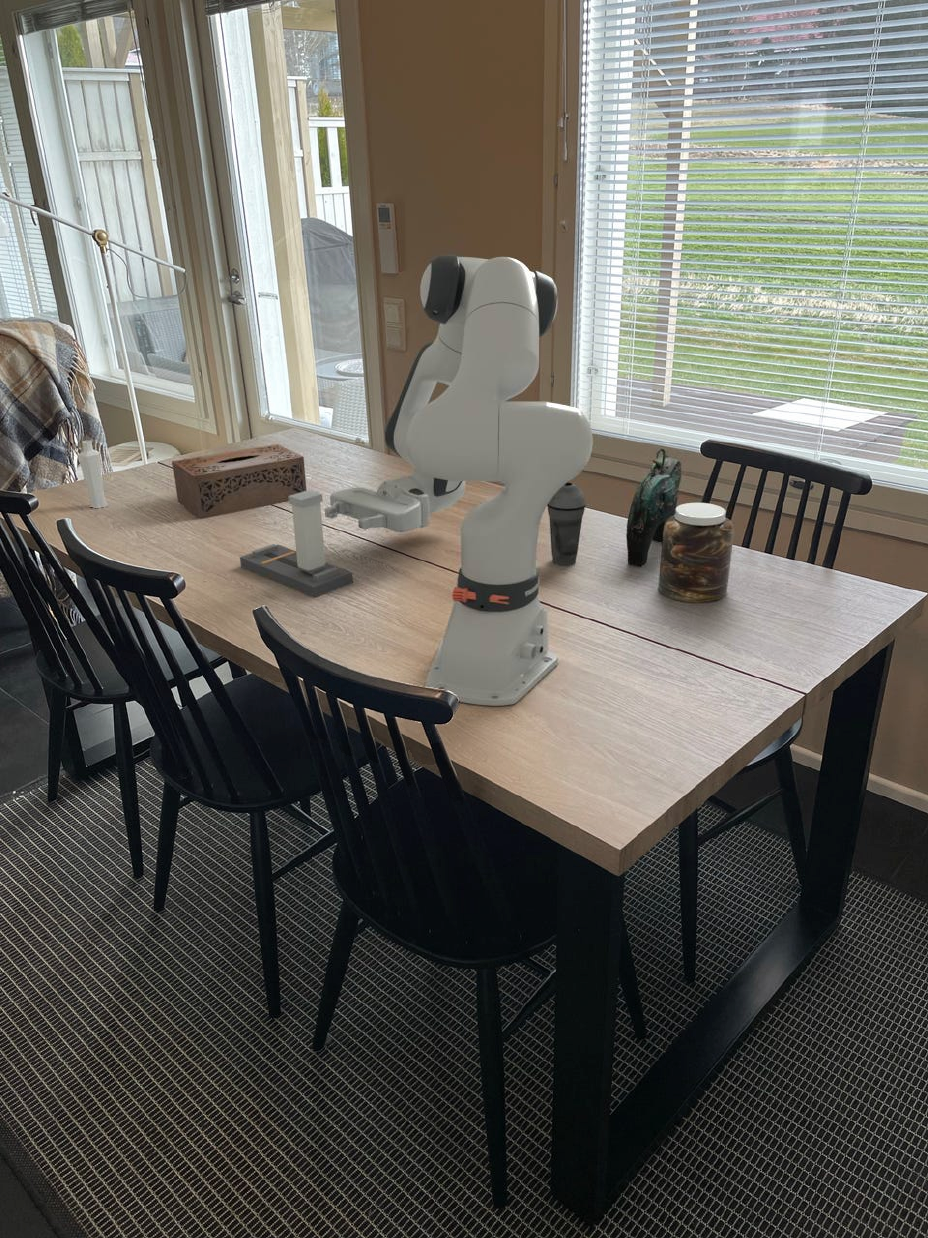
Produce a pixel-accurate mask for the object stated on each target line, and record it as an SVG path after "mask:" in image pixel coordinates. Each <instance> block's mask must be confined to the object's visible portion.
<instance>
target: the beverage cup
mask: <svg viewBox="0 0 928 1238" xmlns="http://www.w3.org/2000/svg"><path fill="white" fill-rule="evenodd" d="M585 500H586V499H585V495H584V492H583V490H582V489H581V488H580V487H579V486H578V485H577V484H576V483H572V482H569V481H568V482H567V483H566V484H564V485H563V486H562V487H561V488H560V489H559V490H558V491H557V492H556V493H555V495H554V496H553V497H552V499H551V500H550V501H549V503H548V505H547V506H546V507H547V513H548V516H549V528H550V529H549V533H550V534H549V535H550V549H551V558H552V560H551V562H552V563H553V564H554V565H556V566H560V567H569V566H573V565H575V564H576V563H577V557H578V552H579V551H578V550H579V544H580V536H581V528H582V522H583V516H584V513H585V508H586V501H585Z"/></svg>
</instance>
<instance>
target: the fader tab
mask: <svg viewBox="0 0 928 1238" xmlns="http://www.w3.org/2000/svg"><path fill="white" fill-rule="evenodd" d="M306 490H307V491H304V492H301V493H297V494H294V495H291V496H289V501H288V504H290V505H291V510H292V520H293V521H292V522H293V531H294V542H295V551H296V554H297V565H298V569H299V570H302V571H304V572H307V573H309V574H312V575H313V574H316V573H318V572H321V571H324V570H325V566H324V565H325V562H326V556H325V555H326V554H325V547H324V546H325V545H324V533H323V531H324V529H323V520H322V505H321V503H322V502H323V493H320V492H316V491H313V490H310V489H306Z"/></svg>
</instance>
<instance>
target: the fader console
mask: <svg viewBox="0 0 928 1238" xmlns="http://www.w3.org/2000/svg"><path fill="white" fill-rule="evenodd" d="M239 561H240V568H243V569H245V570H248V571H250V572H252V573H255V574H256V575H259V576H262V577H264V578H267V579H268V580H271V581H274V582H276V583H279V584H281V585H284V586H285V587H288V588H290V589H293V590H295V591H298V592H300V593H303V594H305V595H308V596H309V597H312V598H317V597H320V596H322V595H325V594H327V593H330V592H333V591H335V590H338V589H341V588H342V587H345V586H348V585H350V584H353V583H354V580H353V579H354V577H353V575H354V574H353V572H352V571H350V570H347V569H344V568H342V567H338V566H337V565H334V564H331V563H329V562H326V561H325V565H324V566H325V570H324V571H321V572H318V573H316V574H313V575H312V574H309V573H307V572H304V571H302V570H299V569H298V565H297V554H296V550H295V549H291V548H288V547H286V546H283V545H281V544H274V543H273V544H270V545H267V546H264V547H261V548H258V549H255V550H253V551H252V552H251V553H249V554H246V555H242V556H240V557H239Z"/></svg>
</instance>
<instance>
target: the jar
mask: <svg viewBox="0 0 928 1238" xmlns="http://www.w3.org/2000/svg"><path fill="white" fill-rule="evenodd" d="M726 514H727V511H726V509H725V508H724V507H722V506H720V505H717V504H712V503H708V502H707V503H706V502H687V503H682V504H679V505H677V507H676V510H675V515H672V516H670V517H669V518H667V520H666V521H665V525H664V532H663V541H662V543H661V552H660V553H661V555H660V562H659V563H660V564H659V578H658V591H659V592H660V593H661V594H662V595H663V596H665V597H667V598H669V599H672V600H675V601H679V602H685V603H691V604H692V603H694V604H695V603H696V604H697V603H698V604H699V603H701V604H702V603H703V604H704V603H710V602H714V601H715V602H716V601H719V600H722V598H724V597H725V596H726V595H727V592H728V585H729V577H730V569H731V560H732V553H733V552H732V551H733V544H734V543H733V541H734V530H735V529H734V524H733V522H732V521H731V519H728V517H726Z"/></svg>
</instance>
